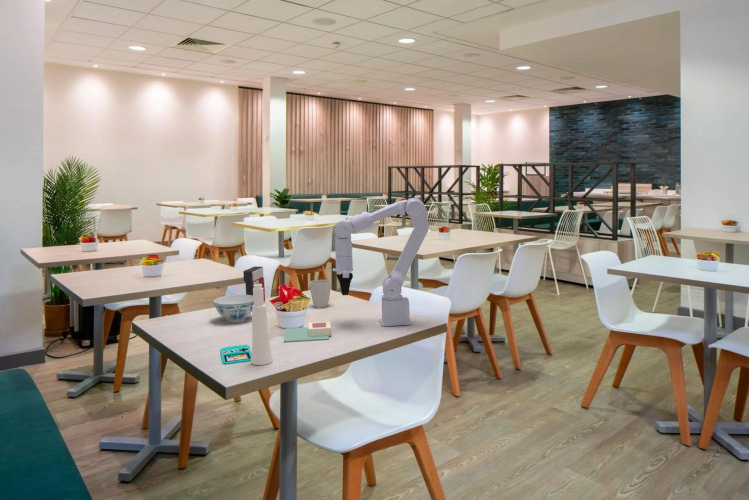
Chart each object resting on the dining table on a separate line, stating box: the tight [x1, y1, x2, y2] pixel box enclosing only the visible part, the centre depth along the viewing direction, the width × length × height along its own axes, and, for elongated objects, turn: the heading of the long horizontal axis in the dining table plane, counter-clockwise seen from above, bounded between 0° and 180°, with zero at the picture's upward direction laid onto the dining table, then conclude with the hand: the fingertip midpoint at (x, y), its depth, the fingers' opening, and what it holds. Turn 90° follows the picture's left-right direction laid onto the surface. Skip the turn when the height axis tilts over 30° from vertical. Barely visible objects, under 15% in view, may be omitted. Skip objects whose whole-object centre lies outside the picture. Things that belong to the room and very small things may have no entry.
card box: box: [308, 320, 332, 337], centre depth 177 cm, size 3×8×7 cm
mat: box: [283, 326, 330, 343], centre depth 177 cm, size 14×14×1 cm
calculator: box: [243, 266, 266, 303], centre depth 219 cm, size 11×4×15 cm, turn 168°
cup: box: [309, 279, 331, 309], centre depth 214 cm, size 8×8×10 cm
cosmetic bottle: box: [250, 284, 274, 366], centre depth 150 cm, size 6×6×22 cm
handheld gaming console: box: [219, 344, 252, 366], centre depth 158 cm, size 8×1×15 cm
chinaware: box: [213, 294, 254, 323], centre depth 197 cm, size 15×15×8 cm
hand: (345, 294), depth 187 cm, fingers closed
